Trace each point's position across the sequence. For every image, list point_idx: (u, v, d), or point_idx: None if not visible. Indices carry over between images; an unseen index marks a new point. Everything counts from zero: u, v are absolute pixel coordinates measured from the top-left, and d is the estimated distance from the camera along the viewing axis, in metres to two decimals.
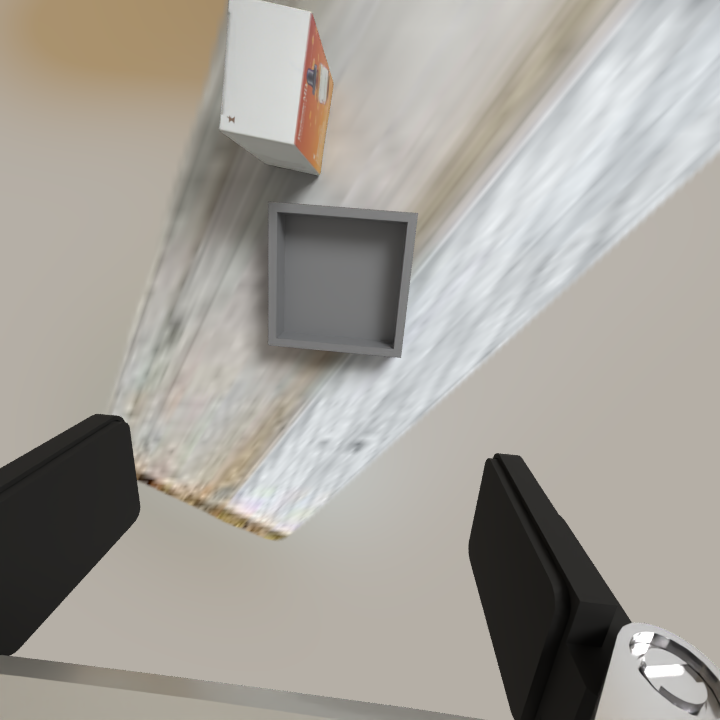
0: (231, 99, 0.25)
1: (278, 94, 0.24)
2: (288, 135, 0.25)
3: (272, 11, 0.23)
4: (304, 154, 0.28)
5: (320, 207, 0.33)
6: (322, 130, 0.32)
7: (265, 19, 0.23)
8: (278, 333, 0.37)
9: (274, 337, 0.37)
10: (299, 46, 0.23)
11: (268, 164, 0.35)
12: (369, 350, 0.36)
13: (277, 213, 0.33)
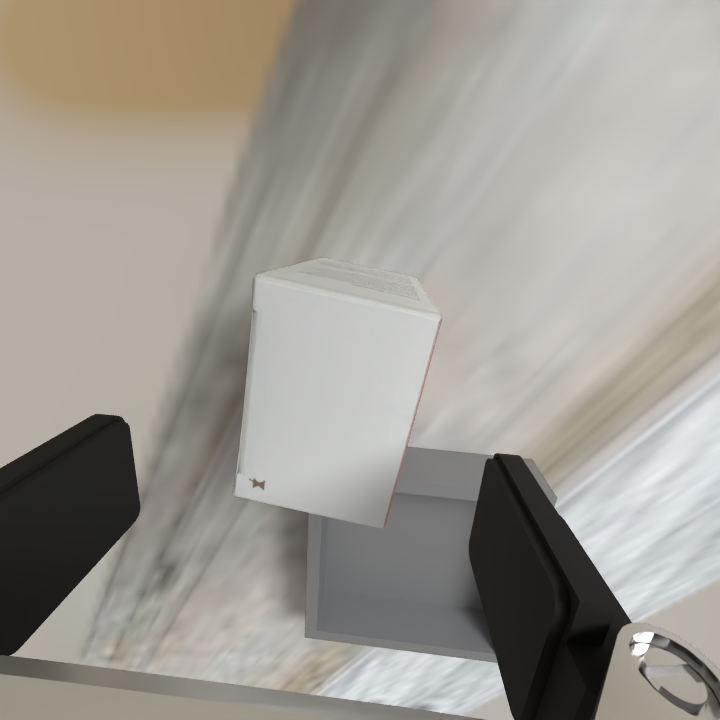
0: (258, 453, 0.12)
1: (357, 455, 0.12)
2: (373, 515, 0.12)
3: (353, 315, 0.10)
4: None
5: None
6: None
7: (336, 328, 0.10)
8: (319, 614, 0.25)
9: (314, 629, 0.24)
10: (409, 378, 0.11)
11: None
12: (458, 653, 0.24)
13: None
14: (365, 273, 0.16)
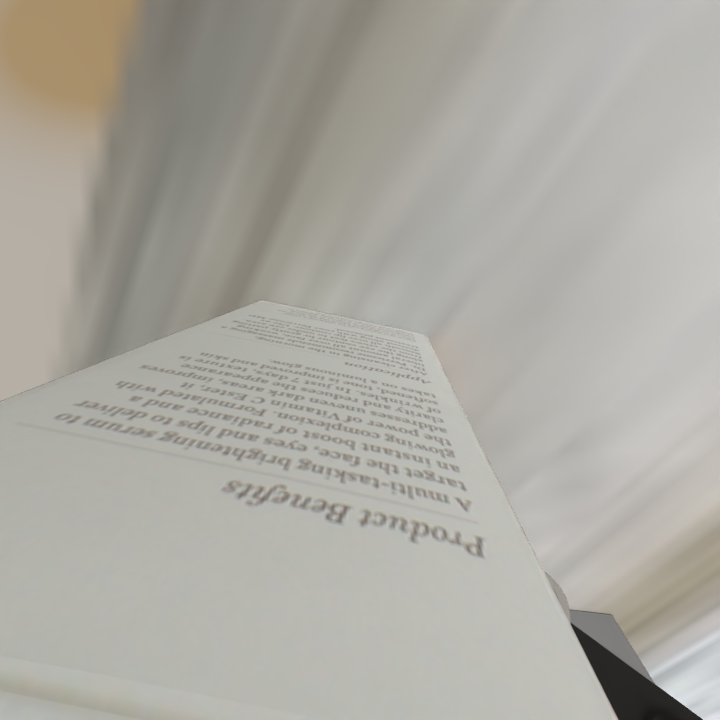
0: None
1: None
2: None
3: None
4: None
5: None
6: None
7: None
8: None
9: None
10: None
11: None
12: None
13: None
14: (324, 352, 0.07)
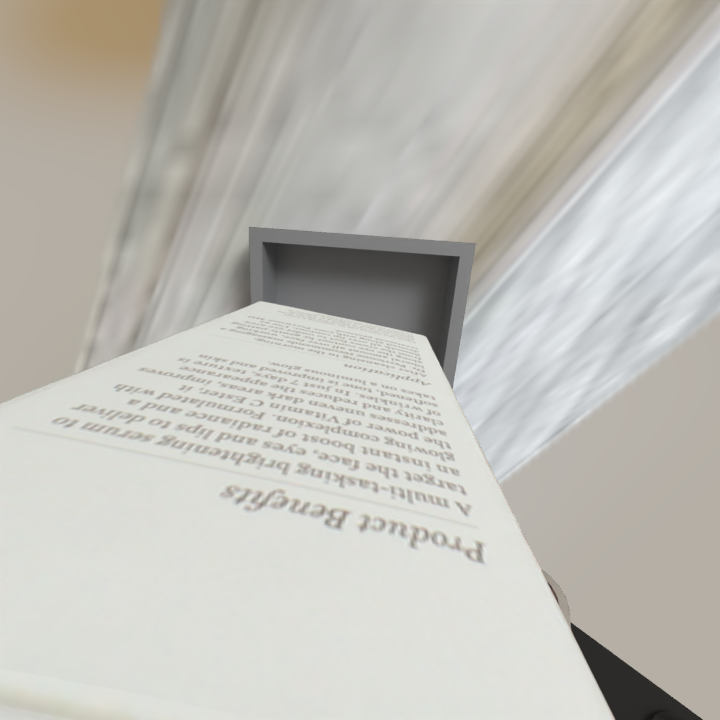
0: None
1: None
2: None
3: None
4: None
5: (327, 235, 0.22)
6: None
7: None
8: None
9: None
10: None
11: None
12: None
13: (263, 244, 0.22)
14: (324, 354, 0.07)
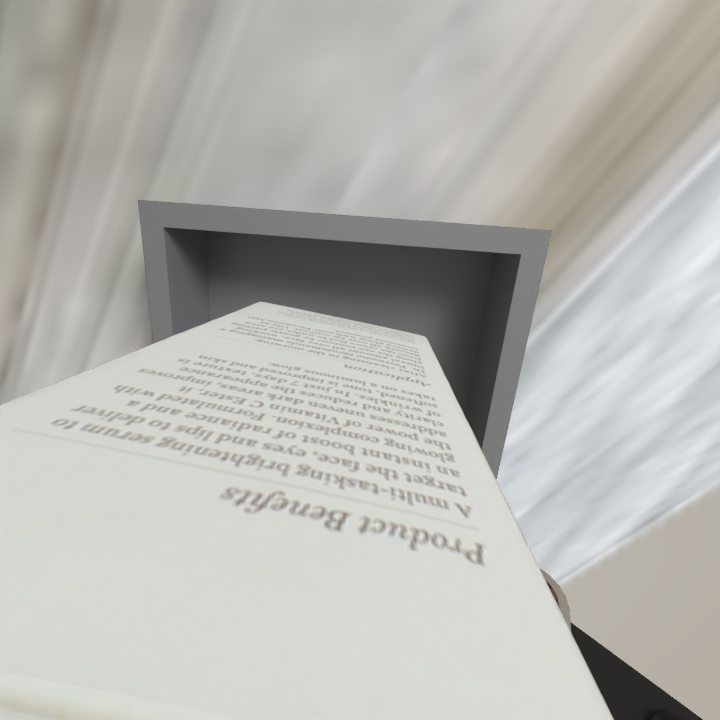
0: None
1: None
2: None
3: None
4: None
5: (279, 215, 0.12)
6: None
7: None
8: None
9: None
10: None
11: None
12: None
13: (167, 231, 0.13)
14: (324, 355, 0.07)
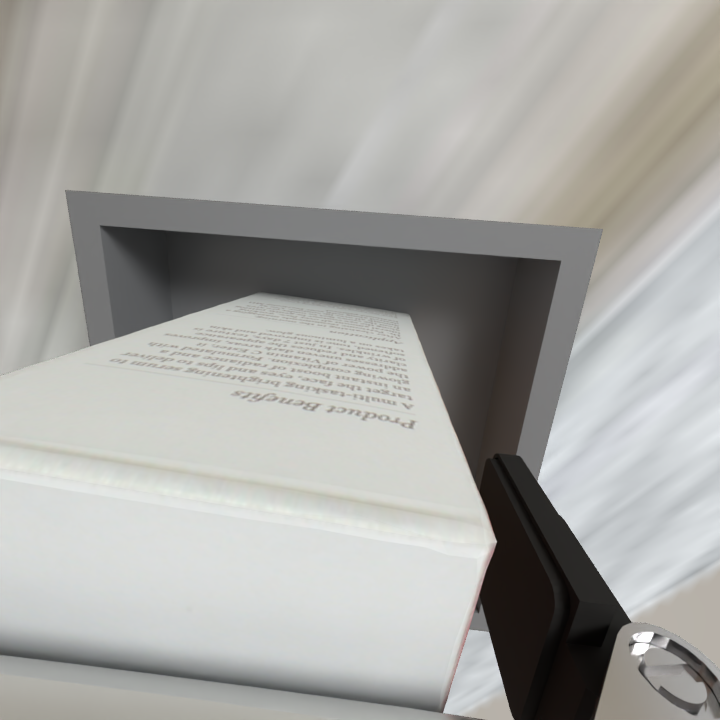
0: None
1: None
2: None
3: (187, 547, 0.03)
4: None
5: (247, 210, 0.09)
6: None
7: (138, 584, 0.03)
8: None
9: None
10: None
11: None
12: None
13: (106, 231, 0.10)
14: (313, 325, 0.08)
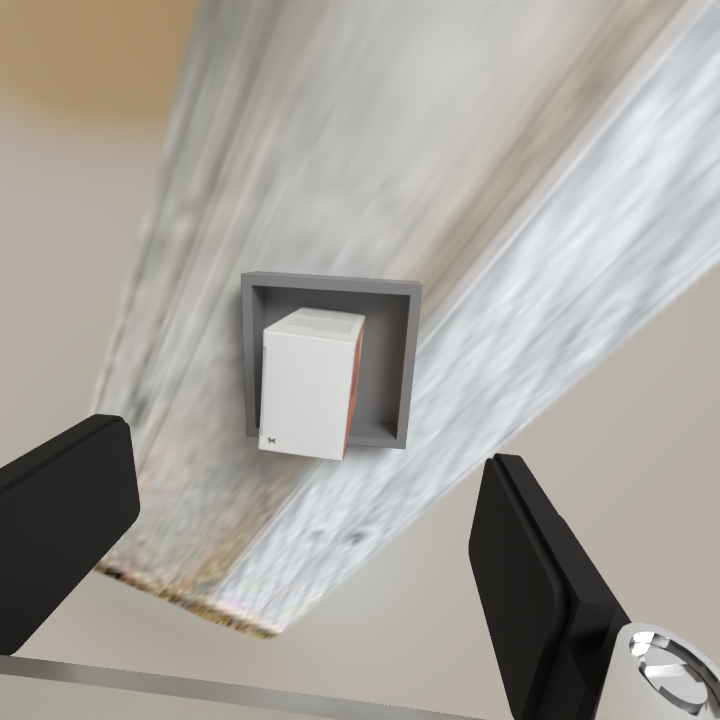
0: (270, 423, 0.22)
1: (323, 418, 0.22)
2: (335, 453, 0.22)
3: (313, 345, 0.21)
4: None
5: (304, 279, 0.27)
6: (358, 372, 0.30)
7: (305, 352, 0.21)
8: (258, 420, 0.31)
9: (253, 427, 0.31)
10: (344, 375, 0.21)
11: None
12: (367, 441, 0.30)
13: (252, 286, 0.28)
14: (327, 318, 0.26)
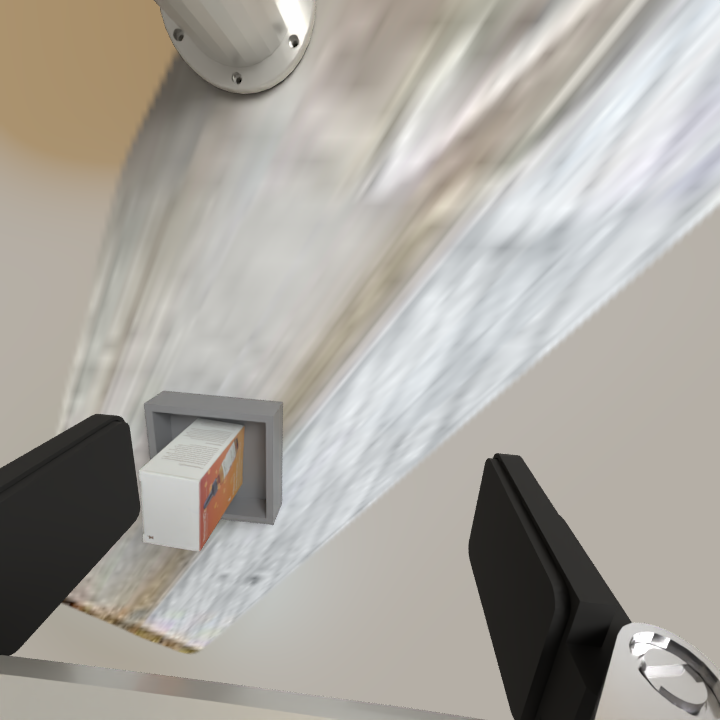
0: (149, 526, 0.33)
1: (183, 525, 0.32)
2: (194, 546, 0.33)
3: (171, 481, 0.31)
4: (215, 525, 0.36)
5: (189, 409, 0.37)
6: (236, 469, 0.40)
7: (166, 485, 0.31)
8: None
9: None
10: (194, 500, 0.31)
11: None
12: (245, 518, 0.41)
13: (153, 411, 0.38)
14: (203, 440, 0.36)
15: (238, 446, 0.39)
